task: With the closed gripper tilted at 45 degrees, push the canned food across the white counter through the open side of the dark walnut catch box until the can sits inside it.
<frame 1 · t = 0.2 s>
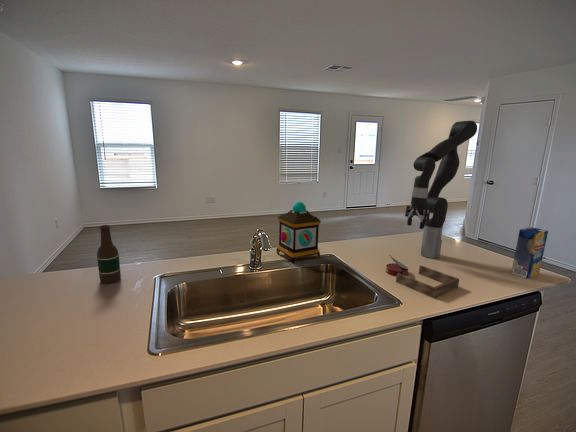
hand: (415, 227, 159), 18 cm above the worktop, tool pointing down, fingers open, 8 cm apart
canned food: (396, 273, 144), on the worktop
decorative lantern: (297, 256, 163), on the worktop
catch box: (425, 284, 132), on the worktop
beer bottle: (110, 280, 128), on the worktop
beverage box: (524, 274, 146), on the worktop
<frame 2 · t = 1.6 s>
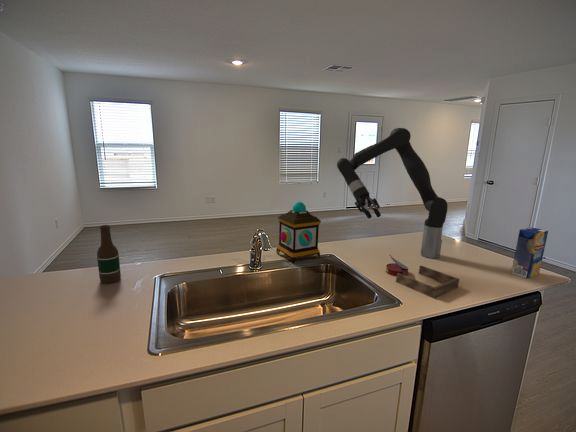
hand: (374, 217, 150), 24 cm above the worktop, tool tilted 45°, fingers open, 6 cm apart
nothing on the worktop moved.
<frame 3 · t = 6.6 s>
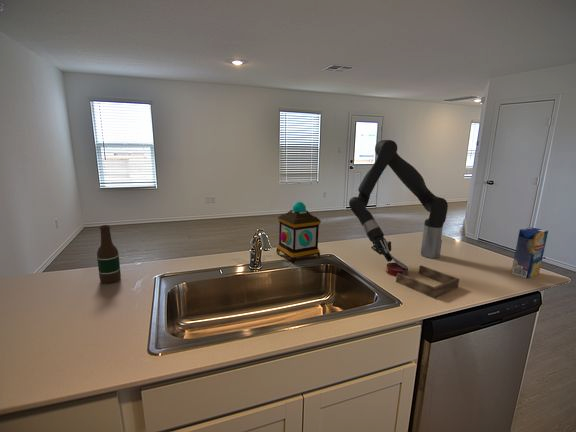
hand: (390, 260, 146), 5 cm above the worktop, tool tilted 45°, fingers closed
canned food: (396, 272, 144), on the worktop, touching gripper
everything else where it was.
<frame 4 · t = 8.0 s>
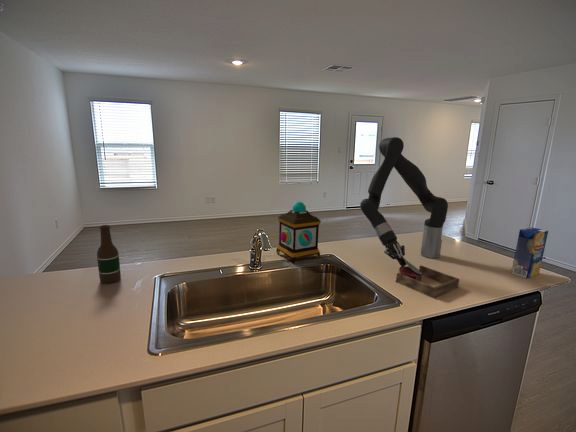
hand: (404, 265, 140), 5 cm above the worktop, tool tilted 45°, fingers closed
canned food: (409, 277, 138), on the worktop, touching gripper
everything else where it was.
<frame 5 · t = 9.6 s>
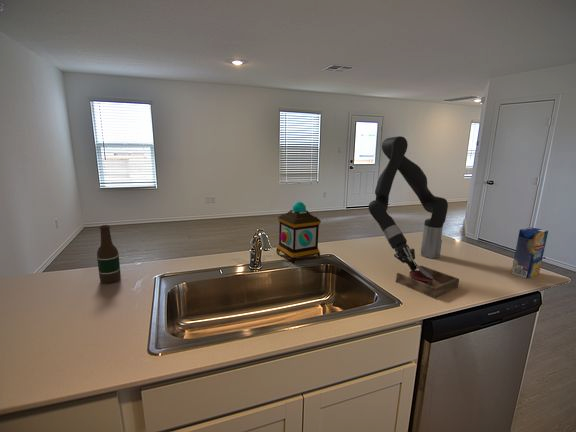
hand: (414, 269, 135), 5 cm above the worktop, tool tilted 45°, fingers closed
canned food: (420, 281, 134), on the worktop, touching gripper
everything else where it was.
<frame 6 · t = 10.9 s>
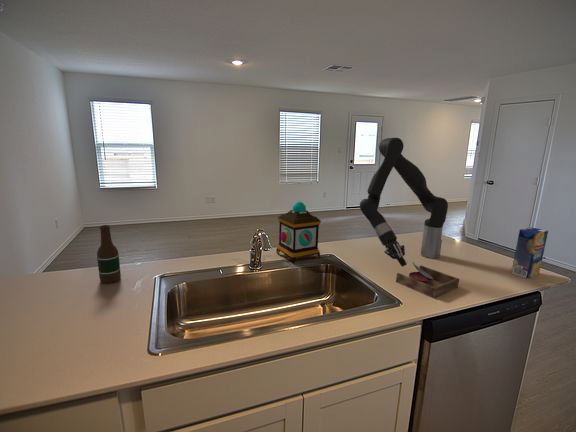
hand: (404, 265, 140), 5 cm above the worktop, tool tilted 45°, fingers closed
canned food: (420, 282, 134), on the worktop
everything else where it was.
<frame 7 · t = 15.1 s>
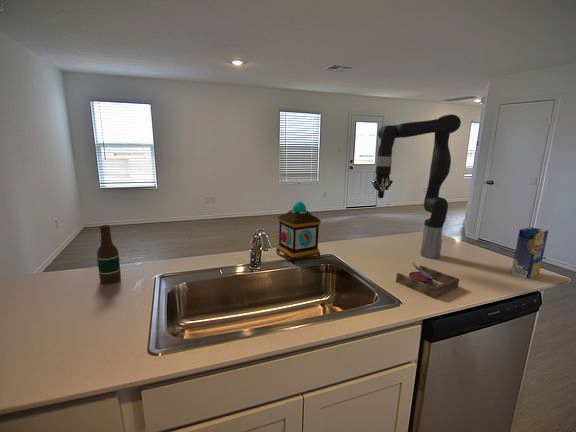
hand: (380, 198, 161), 32 cm above the worktop, tool pointing down, fingers closed
nothing on the worktop moved.
at the end: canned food 2.7 cm from the catch box (horizontally); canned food tilted 2° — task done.
